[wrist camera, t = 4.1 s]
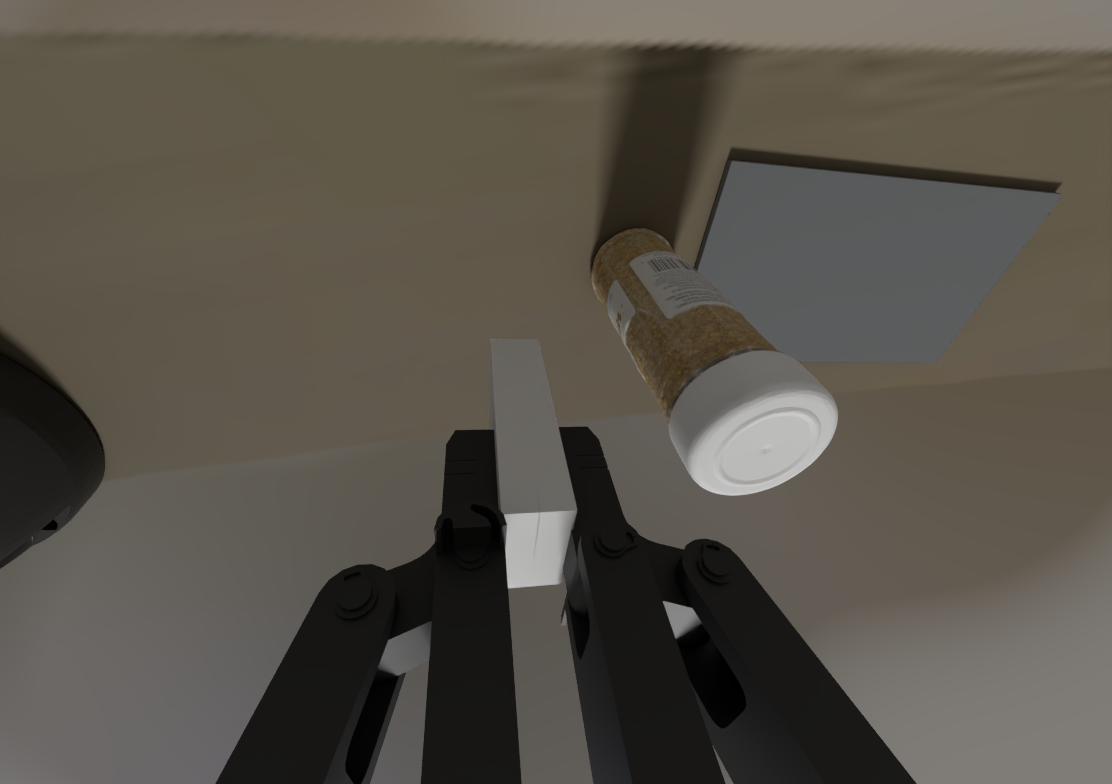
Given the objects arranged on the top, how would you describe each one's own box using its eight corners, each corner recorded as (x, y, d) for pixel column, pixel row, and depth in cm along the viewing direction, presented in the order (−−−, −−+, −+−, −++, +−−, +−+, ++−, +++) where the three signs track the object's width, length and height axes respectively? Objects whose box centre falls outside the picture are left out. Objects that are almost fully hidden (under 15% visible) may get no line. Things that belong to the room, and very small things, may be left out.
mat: (666, 357, 27) (668, 361, 27) (727, 159, 20) (731, 161, 20) (931, 359, 31) (936, 362, 31) (1055, 192, 24) (1063, 194, 24)
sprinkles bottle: (573, 287, 23) (659, 483, 13) (621, 207, 21) (773, 364, 11) (640, 320, 25) (762, 514, 15) (691, 250, 23) (877, 418, 12)
